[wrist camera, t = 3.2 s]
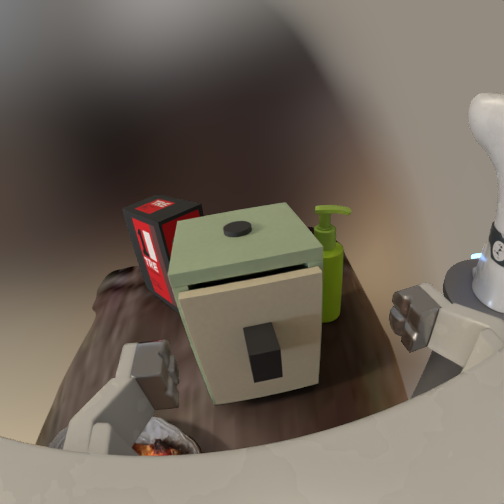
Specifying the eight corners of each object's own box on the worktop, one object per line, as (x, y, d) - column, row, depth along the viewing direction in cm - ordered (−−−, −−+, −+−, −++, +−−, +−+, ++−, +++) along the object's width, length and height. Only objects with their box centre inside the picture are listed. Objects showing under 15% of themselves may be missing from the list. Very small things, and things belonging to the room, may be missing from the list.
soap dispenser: (345, 323, 48) (351, 214, 39) (306, 321, 50) (302, 214, 41) (345, 302, 53) (350, 200, 44) (309, 301, 55) (306, 200, 46)
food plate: (223, 426, 34) (218, 414, 32) (210, 586, 13) (201, 588, 12) (74, 409, 36) (63, 396, 34) (33, 524, 15) (16, 517, 13)
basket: (327, 406, 33) (338, 295, 24) (219, 429, 31) (176, 327, 23) (292, 322, 48) (286, 221, 39) (210, 338, 47) (183, 239, 38)
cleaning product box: (220, 296, 60) (201, 203, 51) (186, 318, 55) (157, 222, 45) (177, 272, 71) (157, 194, 62) (147, 288, 66) (122, 208, 56)
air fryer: (318, 383, 38) (323, 240, 28) (214, 405, 37) (165, 269, 26) (293, 322, 51) (285, 198, 40) (208, 339, 49) (176, 217, 39)
